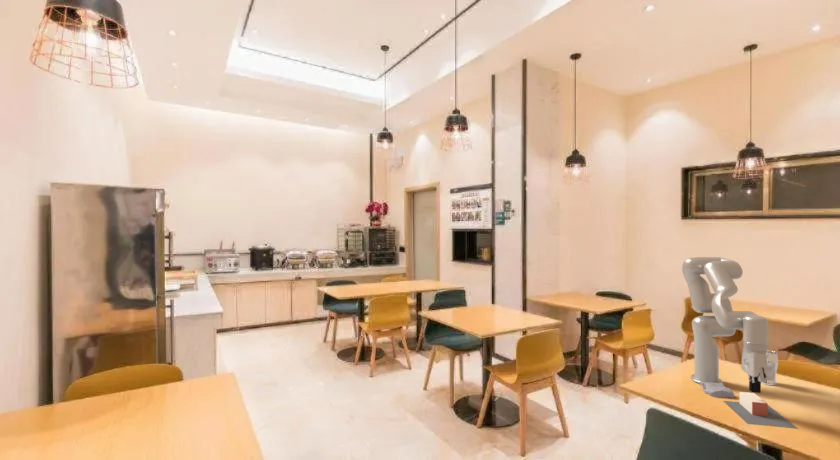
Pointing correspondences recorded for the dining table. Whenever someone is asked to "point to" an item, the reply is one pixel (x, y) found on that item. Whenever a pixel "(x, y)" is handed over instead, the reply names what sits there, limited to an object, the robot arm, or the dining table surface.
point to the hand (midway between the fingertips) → (754, 391)
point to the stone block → (717, 390)
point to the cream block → (753, 404)
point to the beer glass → (771, 368)
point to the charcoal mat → (769, 420)
